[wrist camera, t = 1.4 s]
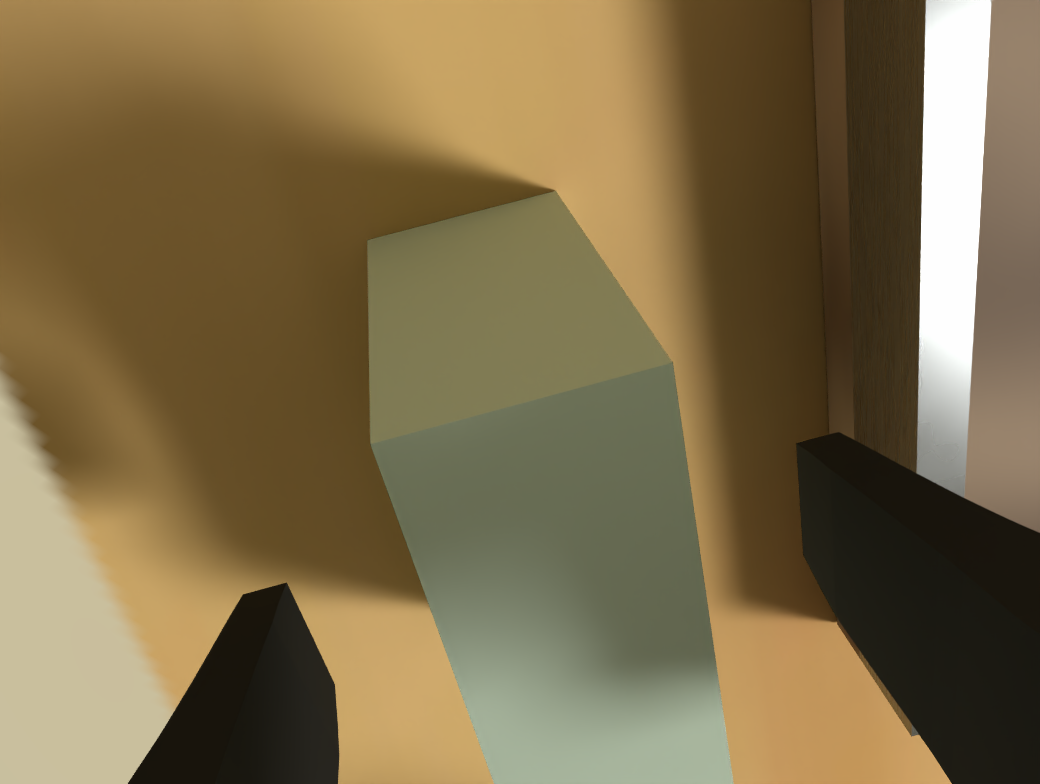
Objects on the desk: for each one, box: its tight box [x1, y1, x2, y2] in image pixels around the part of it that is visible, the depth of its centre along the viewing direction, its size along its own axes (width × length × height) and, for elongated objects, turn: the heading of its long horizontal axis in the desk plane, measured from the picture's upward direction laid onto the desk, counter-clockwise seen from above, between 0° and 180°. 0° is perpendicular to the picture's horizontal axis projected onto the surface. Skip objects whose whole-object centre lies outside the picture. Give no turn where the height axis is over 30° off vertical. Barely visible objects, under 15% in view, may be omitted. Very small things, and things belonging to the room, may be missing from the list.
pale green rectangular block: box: [367, 191, 733, 784], centre depth 13 cm, size 8×3×6 cm, turn 13°
